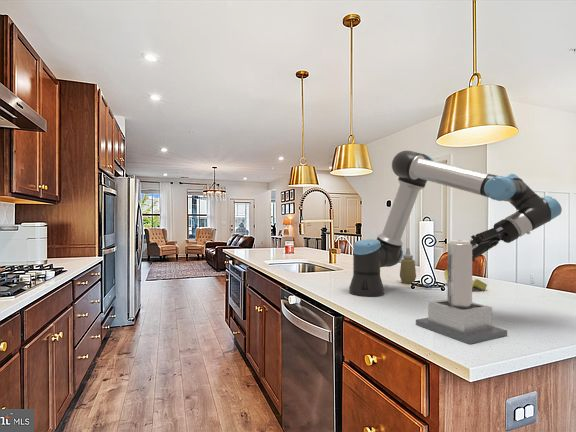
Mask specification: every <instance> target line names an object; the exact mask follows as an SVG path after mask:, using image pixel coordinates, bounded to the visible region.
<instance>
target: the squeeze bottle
mask: <svg viewBox="0 0 576 432" xmlns="http://www.w3.org/2000/svg"><path fill="white" fill-rule="evenodd" d="M399 277H400V282H401V283H403V284H406V285H412V284H411V283H412V282H414V283H415V282H416V278H417V269H416V262H415V260H414V255H412V254H411V251H410V248H409V247H407V248H406V251H405V254H403V256H402V259H401V261H400V269H399Z"/></svg>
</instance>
